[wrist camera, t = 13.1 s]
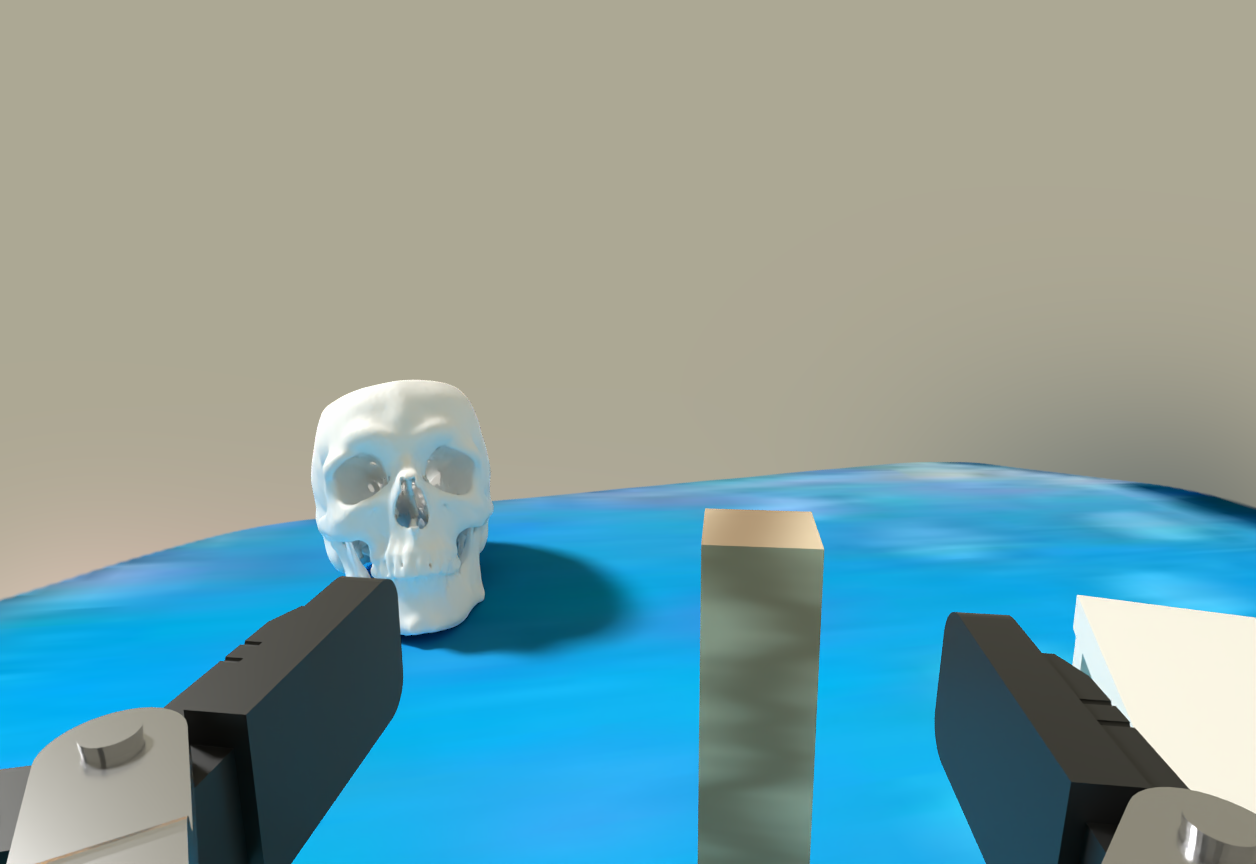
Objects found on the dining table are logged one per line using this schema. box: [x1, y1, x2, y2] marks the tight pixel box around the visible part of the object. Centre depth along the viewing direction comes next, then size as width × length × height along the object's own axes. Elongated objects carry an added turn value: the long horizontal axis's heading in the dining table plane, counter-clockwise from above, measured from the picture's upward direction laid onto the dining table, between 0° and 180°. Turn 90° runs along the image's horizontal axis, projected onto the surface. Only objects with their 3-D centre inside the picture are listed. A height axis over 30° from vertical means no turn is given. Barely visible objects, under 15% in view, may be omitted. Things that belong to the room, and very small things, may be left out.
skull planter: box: [311, 380, 494, 636], centre depth 59 cm, size 14×20×19 cm
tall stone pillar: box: [698, 509, 824, 864], centre depth 24 cm, size 20×4×16 cm, turn 83°
